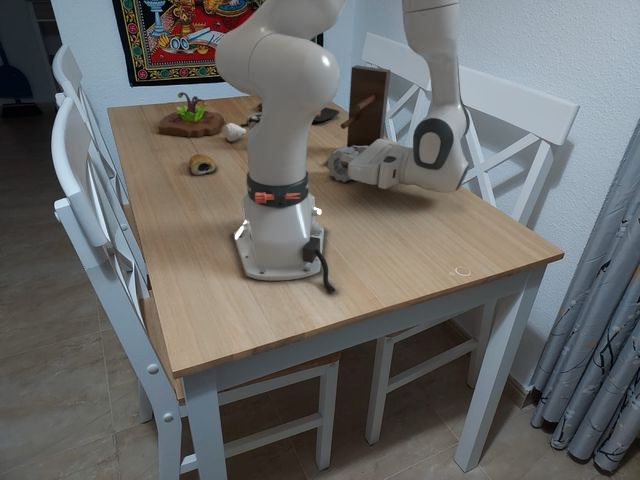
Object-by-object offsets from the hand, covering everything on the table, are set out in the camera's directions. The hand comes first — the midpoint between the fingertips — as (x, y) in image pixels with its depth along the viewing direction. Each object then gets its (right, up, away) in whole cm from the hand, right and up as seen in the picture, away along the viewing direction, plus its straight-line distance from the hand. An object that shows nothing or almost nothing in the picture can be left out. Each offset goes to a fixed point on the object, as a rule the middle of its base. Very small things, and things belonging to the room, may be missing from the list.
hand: (346, 152), depth 114 cm
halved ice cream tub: (-22, +5, +21) cm, 30 cm away
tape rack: (+4, 0, +14) cm, 15 cm away
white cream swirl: (-32, +9, +25) cm, 42 cm away
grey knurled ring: (0, -6, +4) cm, 7 cm away
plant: (-49, +15, +34) cm, 62 cm away
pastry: (-39, -3, +7) cm, 39 cm away
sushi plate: (-19, +20, +43) cm, 51 cm away
